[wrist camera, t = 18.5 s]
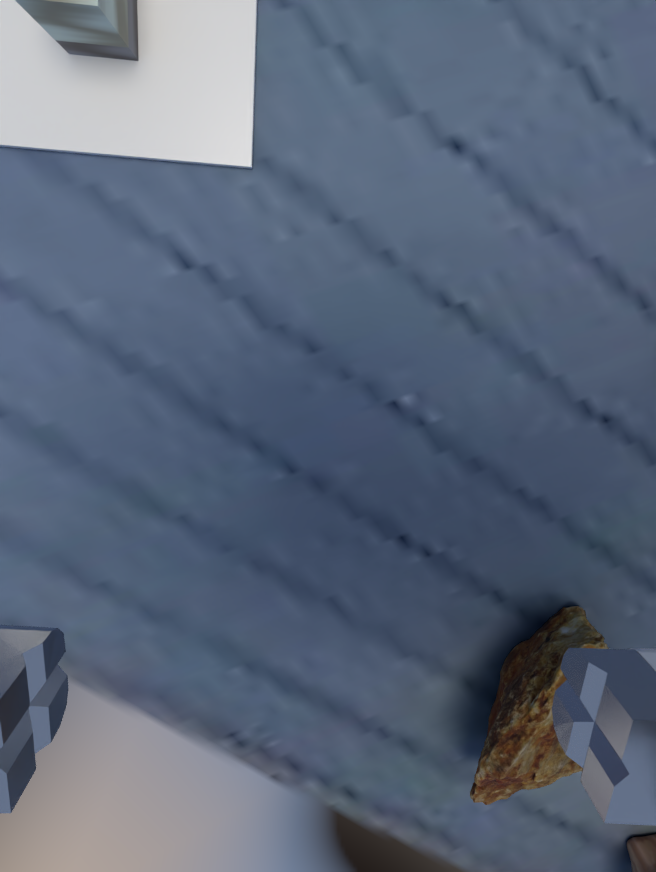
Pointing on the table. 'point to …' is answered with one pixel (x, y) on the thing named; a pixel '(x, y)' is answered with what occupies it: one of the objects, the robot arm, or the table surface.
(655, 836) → the cupcake
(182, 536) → the table surface
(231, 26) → the white board
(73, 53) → the box
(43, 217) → the table surface
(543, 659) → the rock
